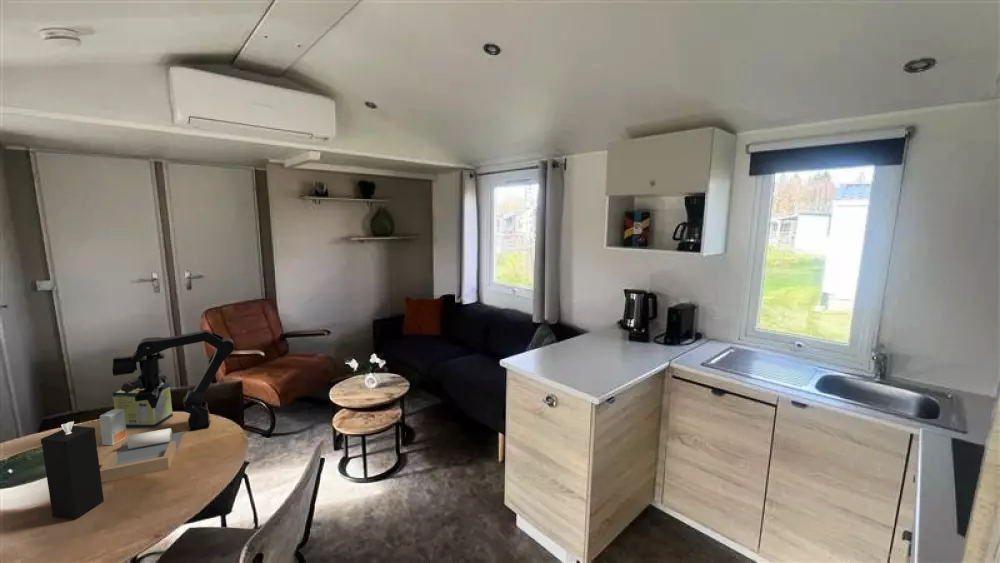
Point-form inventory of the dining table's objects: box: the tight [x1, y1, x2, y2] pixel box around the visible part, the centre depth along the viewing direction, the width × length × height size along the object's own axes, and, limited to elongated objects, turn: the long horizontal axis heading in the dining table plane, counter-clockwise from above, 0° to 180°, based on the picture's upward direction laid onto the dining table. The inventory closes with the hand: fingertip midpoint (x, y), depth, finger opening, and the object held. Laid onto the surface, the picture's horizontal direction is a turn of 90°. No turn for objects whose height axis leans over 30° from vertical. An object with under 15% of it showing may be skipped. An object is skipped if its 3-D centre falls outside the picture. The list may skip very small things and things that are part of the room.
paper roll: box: [127, 427, 173, 449], centre depth 154 cm, size 12×5×5 cm, turn 119°
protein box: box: [112, 382, 174, 429], centre depth 171 cm, size 10×16×16 cm
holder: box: [100, 431, 185, 484], centre depth 149 cm, size 18×26×4 cm
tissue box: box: [40, 420, 105, 520], centre depth 120 cm, size 8×8×28 cm
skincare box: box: [99, 409, 128, 446], centre depth 157 cm, size 6×4×12 cm
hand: (153, 408), depth 160 cm, fingers closed
